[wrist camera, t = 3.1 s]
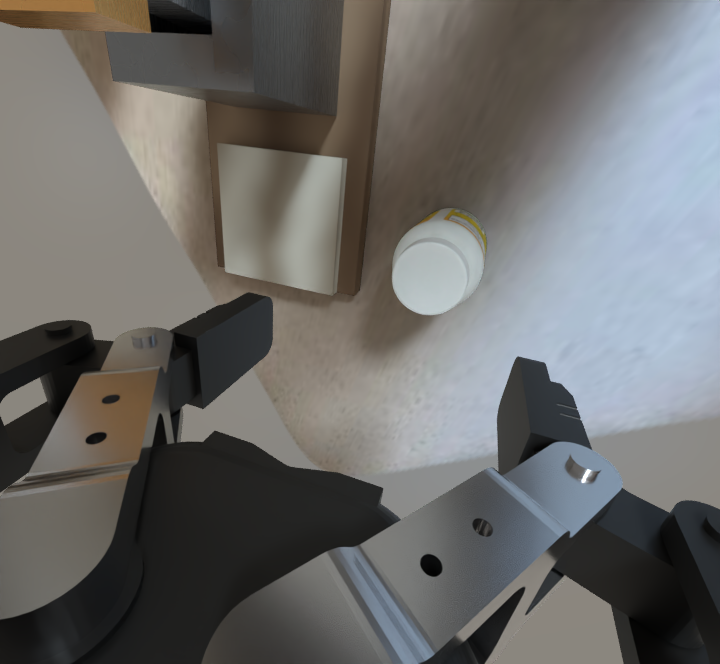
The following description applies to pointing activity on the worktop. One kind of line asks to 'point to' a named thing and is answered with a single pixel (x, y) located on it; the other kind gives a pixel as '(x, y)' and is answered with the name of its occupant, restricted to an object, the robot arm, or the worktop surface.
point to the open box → (242, 56)
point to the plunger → (106, 14)
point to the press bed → (303, 173)
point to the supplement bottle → (439, 262)
